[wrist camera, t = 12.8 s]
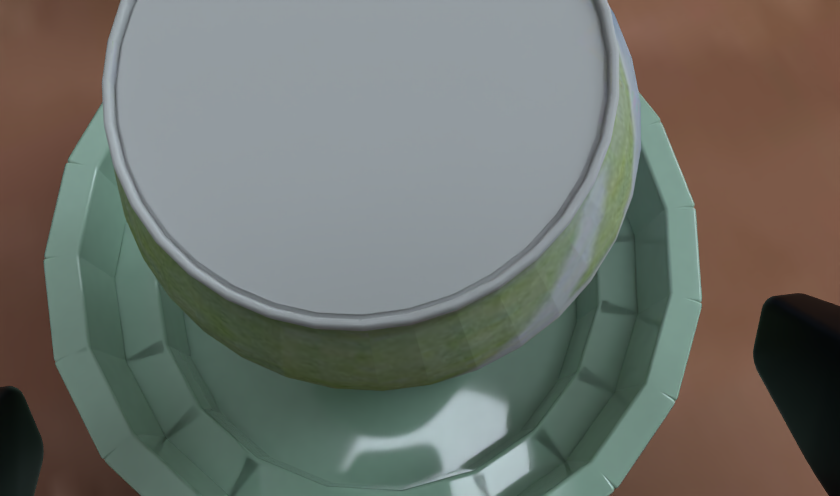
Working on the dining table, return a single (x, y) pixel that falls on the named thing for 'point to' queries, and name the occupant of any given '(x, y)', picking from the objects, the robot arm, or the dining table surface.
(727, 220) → the dining table surface
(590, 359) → the bowl
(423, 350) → the beverage can
